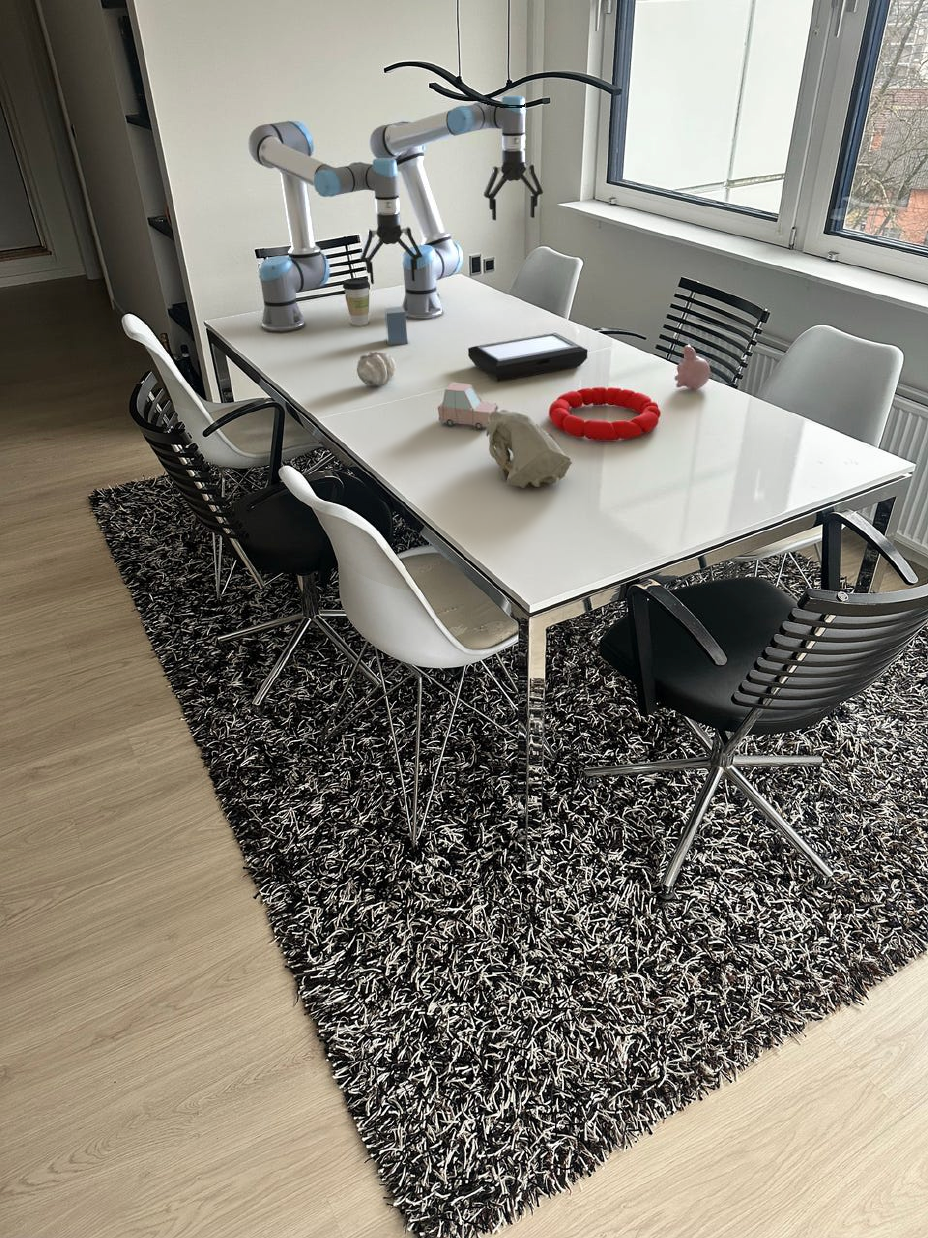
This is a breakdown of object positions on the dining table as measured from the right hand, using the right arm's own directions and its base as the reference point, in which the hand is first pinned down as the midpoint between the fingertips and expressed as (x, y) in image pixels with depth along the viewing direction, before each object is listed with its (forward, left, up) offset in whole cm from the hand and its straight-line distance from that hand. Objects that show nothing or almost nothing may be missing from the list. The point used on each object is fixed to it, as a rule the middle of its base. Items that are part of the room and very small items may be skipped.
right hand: (513, 218), depth 308 cm
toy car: (+101, +5, -34) cm, 107 cm away
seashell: (+75, -29, -34) cm, 88 cm away
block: (+33, -35, -34) cm, 59 cm away
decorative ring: (+94, +42, -34) cm, 109 cm away
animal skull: (+128, +25, -34) cm, 135 cm away
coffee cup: (+14, -55, -34) cm, 66 cm away
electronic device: (+52, +14, -34) cm, 64 cm away
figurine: (+65, +65, -34) cm, 98 cm away
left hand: (+33, -35, -14) cm, 50 cm away
